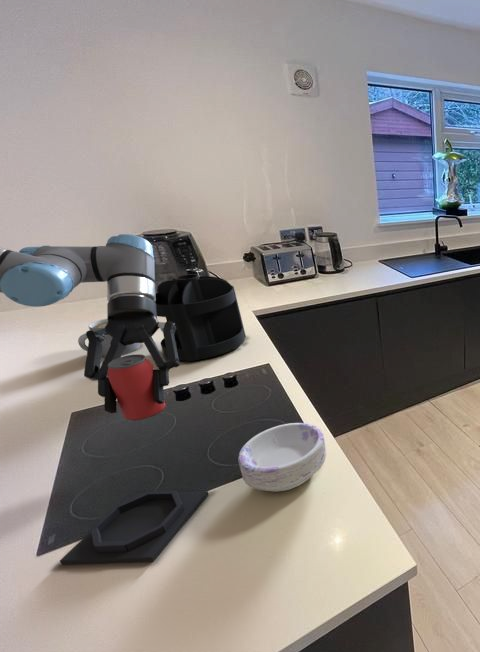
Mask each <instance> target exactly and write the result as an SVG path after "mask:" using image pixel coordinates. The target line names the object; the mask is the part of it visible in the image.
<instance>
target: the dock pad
mask: <svg viewBox="0 0 480 652" xmlns="http://www.w3.org/2000/svg"><path fill="white" fill-rule="evenodd" d="M208 496H209V491H208V490H201V491H199V490H198V491H197V490H195V491H193V490H191V491H177V490H150V491H147V492H131V493H130V494H129V495H127V497H126V498H124V500H123V501H121V503H119V504H117V505H115V506H113V507H112V508H111V509H110V510H109V511H108V512H107V513H106V514H105V515H104V516H102V517H101V518H100V520H99V521H97V522H96V523H95V524H94V525H93V526H92V527H91V529H90V532H89V533H87V534H86V535H85V536H84V537H83V538H82V539H81V540H80V541H79V542H78V543H77V544H76V545H74V547H72V549H70V550H69V551H68V552H67V553H66V554H65V555H64V556H63V557H62V558H61V559H60V560H59V562H60V564H61V565H62V566H68V565H71V566H72V565H96V564H123V563H126V564H127V563H153V562H155V561H156V559H157V558H158V557H159V556H160V554H162V553H163V551H164V550H165V548H166V547H167V546H168V545H169V543H170V542H171V541H172V540H173V539H174V538H175V537H176V536H177V534H178V533H179V531H181V529H182V528H183V527H184V526H185V524H186V523H187V522H188V521H189V520H190V519H191V517H192V516H193V515H194V514H195V512H196V511H197V510H198V508H199V507H200V506H201V505H202V504H203V503H204V501H205V500H206V499H207V498H208Z"/></svg>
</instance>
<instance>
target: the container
mask: <svg viewBox="0 0 480 652" xmlns="http://www.w3.org/2000/svg"><path fill="white" fill-rule="evenodd" d="M155 303H156V310H157V317H160V318H165V320H166V322H167V321H172V322H173V324H174V325H175V326H176V330H175V334H174V337H175V342H176V347H177V352H178V357H179V361H187V362H188V361H189V362H191V361H192V362H193V361H198V360H199V361H200V360H206V359H210V358H214V357H218V356H220V355H224V354H226V353H228V352H231V351H233V350H236V349H237V348H239V347H240V346H241V345H242V344H244V343H245V341H246V337H247V335H246V331H245V327H244V324H243V319H242V316H241V311H240V307H239V302H238V299H237V295H236V290H235V287H234V285H232V284H231V283H230V282H229V281H227V280H226V279H224V278H221V277H217V276H208V275H203V276H202V275H201V276H199V274H195V273H194V274H193V273H191V274H183V275H182V274H181V275H178V276H175V277H174V278H173V279H170V280H165V281H162V282H160V283H159V284H158V285H157V288H156V301H155ZM160 346H161V350H162V352H163V356H164V357H165V358H167V359H168V356H167V351H166V345H165V340H164V338H162V339H161V341H160Z"/></svg>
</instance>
